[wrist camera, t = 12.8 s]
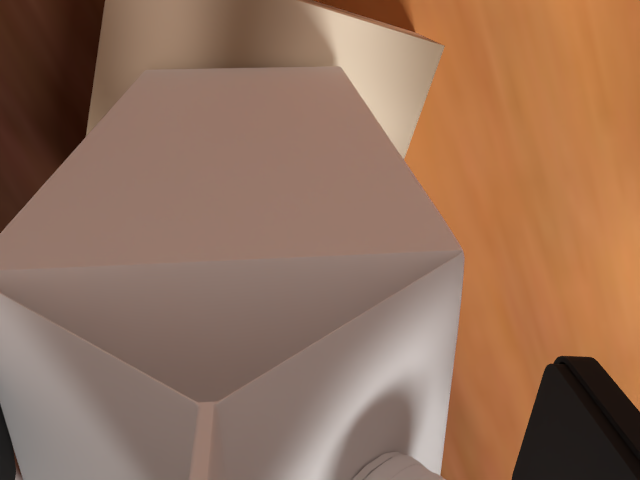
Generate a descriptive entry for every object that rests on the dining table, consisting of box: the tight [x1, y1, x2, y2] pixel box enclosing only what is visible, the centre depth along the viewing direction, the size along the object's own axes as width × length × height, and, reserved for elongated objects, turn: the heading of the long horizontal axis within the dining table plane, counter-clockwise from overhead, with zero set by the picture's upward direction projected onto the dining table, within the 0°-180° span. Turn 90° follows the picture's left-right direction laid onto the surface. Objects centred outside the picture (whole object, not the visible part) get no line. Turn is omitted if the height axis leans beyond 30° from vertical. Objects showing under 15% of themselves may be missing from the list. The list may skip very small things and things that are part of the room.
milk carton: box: [0, 66, 464, 480], centre depth 15 cm, size 7×7×19 cm
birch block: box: [86, 0, 445, 159], centre depth 26 cm, size 12×12×5 cm
